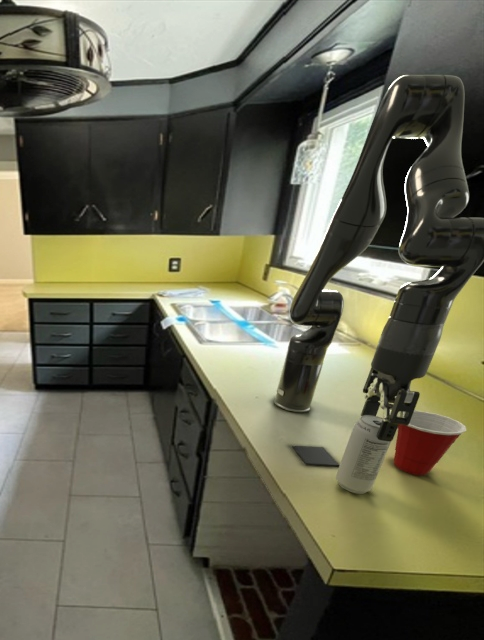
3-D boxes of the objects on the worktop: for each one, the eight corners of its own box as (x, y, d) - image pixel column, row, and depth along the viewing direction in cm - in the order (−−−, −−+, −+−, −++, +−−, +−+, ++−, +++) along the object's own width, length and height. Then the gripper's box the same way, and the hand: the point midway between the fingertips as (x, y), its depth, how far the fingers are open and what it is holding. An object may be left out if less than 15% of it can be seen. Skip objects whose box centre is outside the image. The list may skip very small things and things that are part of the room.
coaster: (292, 447, 86) (292, 445, 86) (322, 448, 86) (323, 447, 86) (306, 464, 80) (306, 463, 80) (339, 466, 80) (339, 465, 79)
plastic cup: (387, 447, 87) (405, 402, 82) (447, 470, 79) (472, 422, 74) (370, 463, 81) (389, 416, 76) (434, 490, 73) (459, 439, 68)
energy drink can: (359, 477, 76) (384, 415, 70) (376, 497, 71) (405, 430, 65) (329, 474, 77) (350, 412, 71) (343, 494, 71) (368, 428, 65)
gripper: (456, 361, 54) (416, 452, 61) (414, 337, 67) (384, 415, 73) (396, 356, 57) (363, 444, 63) (365, 333, 69) (341, 409, 75)
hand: (374, 428), depth 68 cm, fingers open, 8 cm apart
